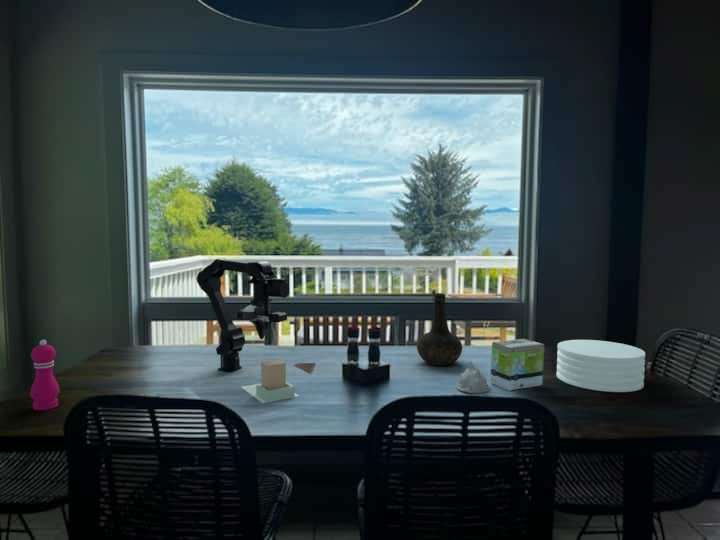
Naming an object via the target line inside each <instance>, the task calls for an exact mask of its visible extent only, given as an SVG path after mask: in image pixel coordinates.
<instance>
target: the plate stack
mask: <svg viewBox="0 0 720 540" xmlns="http://www.w3.org/2000/svg"><path fill="white" fill-rule="evenodd" d="M556 356H557V358H556V363H557V364H556V378H557V379H559V380H561V381H562V382H564V383H566V384H568V385H571V386H573V387H578V388H582V389H587V390H593V391H600V392H609V393H629V392H636V391H640V390H642V389H643V388H644V387H645V386H644V385H645V381H644V380H645V371H646V370H645V365H646V360H645V358H646V352H645V351H644V350H643V349H641V348H639V347H636V346H633V345H629V344H625V343H619V342H614V341H606V340H598V339H597V340H596V339H595V340H594V339H570V340H569V339H568V340H564V341H560V342H558V343H557V354H556Z"/></svg>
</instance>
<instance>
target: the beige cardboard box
mask: <svg viewBox="0 0 720 540" xmlns="http://www.w3.org/2000/svg"><path fill="white" fill-rule="evenodd" d="M286 365H287V364H286V362H285V361H284V360H281V359H272V360H271V359H270V360H266V361H261V362H260V377H261V378H260V381H261V382H260V383H261V386H262V387H264V388H265V389H267V390H268V391H270V390H275V389H281V388H286V382H287V377H286V376H287V375H286V374H287V373H286V369H287V367H286Z"/></svg>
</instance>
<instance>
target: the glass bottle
mask: <svg viewBox="0 0 720 540" xmlns="http://www.w3.org/2000/svg"><path fill="white" fill-rule="evenodd" d="M431 300H433V314H432V323H431V329H430V331H427V332H425V333H424V334H422V335H421V336H420V337H419V338H418V340H417V343H416V350H417V353H418V355H419V357H420V358H421V359H422V360H423V361H424V362H425V363H427V364H429V365H432V366H449V365H451V364H453V363H456V362H457V361H458V360H459V359H460V357H461V355H462V354H463V352H462V351H463V343H462V342H461V339H460V338H459V337H458V336H457V335H456V334H455V333H452V332H451V331H450V329H449V326H448V325H449V324H448V319H447V309H446V300H447V297H446V294H445V293H442V292H439V293H438V292H435V293H434V294H433V297H432V298H431Z"/></svg>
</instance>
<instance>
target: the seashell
mask: <svg viewBox="0 0 720 540" xmlns="http://www.w3.org/2000/svg"><path fill="white" fill-rule="evenodd" d="M468 366H469V367H468V368H465V370H464V372H463V373H462V372H461V373H459V378H460V380H459V385H457V384H456V389H457V390H458V391H460V392H462V393H463V392H464V393H469V394H483V393H486V392H490V391H491V390H492V387H490V386H489V384H488V381H487V379H486V377H485V376H484V375H483V374H482V373H481V372H480V370H479V368H478V367H476V369H475V368H474V364H473V362H472V361H471V360H470V361H469V362H468Z"/></svg>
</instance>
